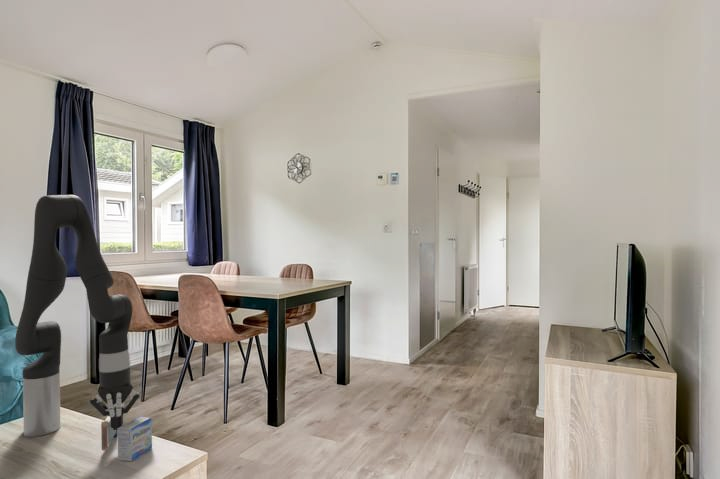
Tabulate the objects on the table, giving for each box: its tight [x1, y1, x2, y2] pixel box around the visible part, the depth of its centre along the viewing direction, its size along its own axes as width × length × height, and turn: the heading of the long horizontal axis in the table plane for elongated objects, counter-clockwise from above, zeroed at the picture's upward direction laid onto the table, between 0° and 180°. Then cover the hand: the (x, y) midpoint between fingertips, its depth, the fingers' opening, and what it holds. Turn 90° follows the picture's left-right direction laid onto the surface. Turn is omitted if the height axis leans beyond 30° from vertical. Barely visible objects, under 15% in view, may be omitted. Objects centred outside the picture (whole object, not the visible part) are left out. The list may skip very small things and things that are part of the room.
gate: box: [100, 416, 116, 451], centre depth 125 cm, size 10×1×7 cm, turn 17°
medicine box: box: [116, 416, 153, 462], centre depth 120 cm, size 8×4×9 cm, turn 165°
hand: (117, 428), depth 123 cm, fingers closed
